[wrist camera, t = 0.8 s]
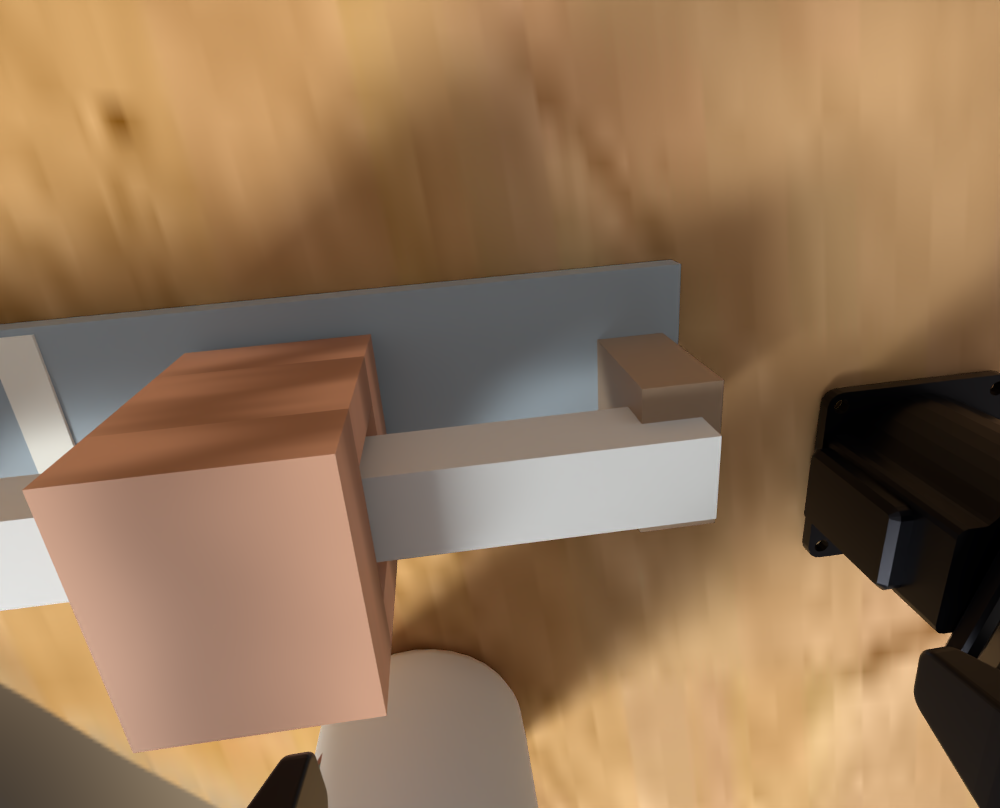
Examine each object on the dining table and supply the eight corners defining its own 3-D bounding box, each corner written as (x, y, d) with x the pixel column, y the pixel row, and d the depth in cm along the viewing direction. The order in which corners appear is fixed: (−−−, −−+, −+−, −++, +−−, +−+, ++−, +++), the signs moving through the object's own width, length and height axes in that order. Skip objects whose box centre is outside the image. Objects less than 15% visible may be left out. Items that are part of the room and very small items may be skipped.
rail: (670, 259, 19) (778, 307, 13) (663, 490, 22) (748, 611, 16) (-226, 345, 17) (-557, 445, 11) (-96, 585, 20) (-305, 759, 14)
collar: (370, 334, 17) (334, 453, 10) (400, 518, 20) (386, 715, 13) (184, 352, 17) (21, 490, 10) (236, 539, 19) (133, 753, 12)
